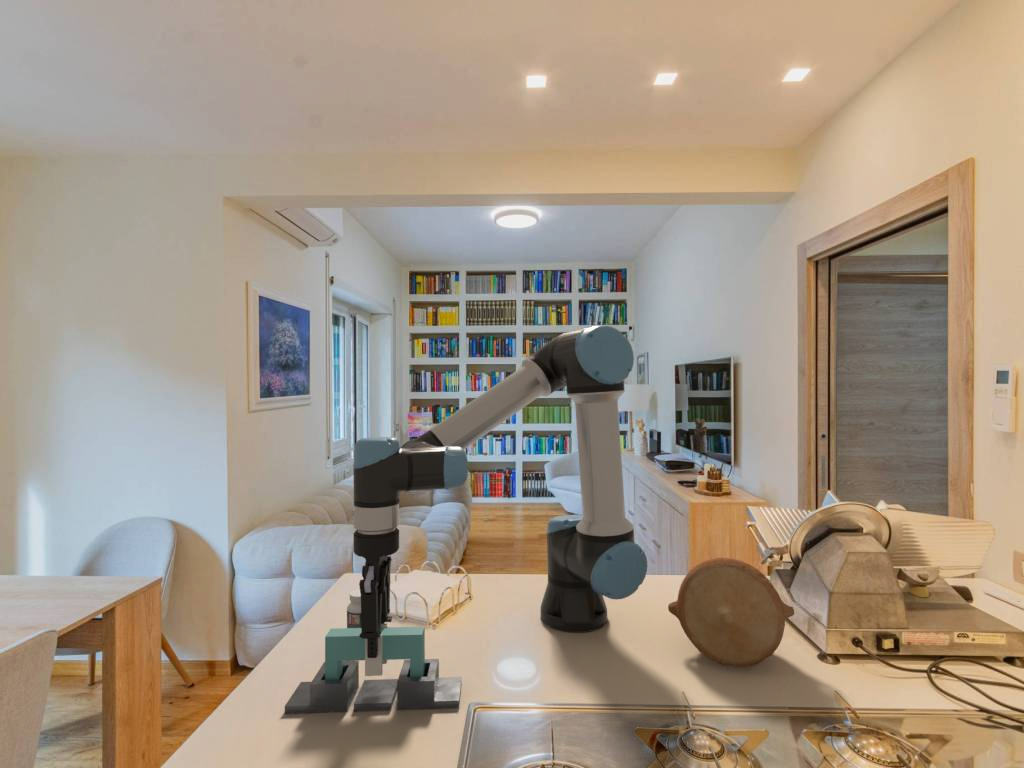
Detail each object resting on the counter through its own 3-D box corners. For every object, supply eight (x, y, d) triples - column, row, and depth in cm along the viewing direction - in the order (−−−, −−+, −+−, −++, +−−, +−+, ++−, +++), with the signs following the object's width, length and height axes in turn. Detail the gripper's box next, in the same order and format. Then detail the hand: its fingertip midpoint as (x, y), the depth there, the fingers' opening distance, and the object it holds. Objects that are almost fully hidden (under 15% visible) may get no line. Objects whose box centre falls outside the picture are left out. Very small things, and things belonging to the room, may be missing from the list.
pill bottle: (367, 648, 104) (367, 598, 104) (341, 645, 105) (341, 596, 105) (380, 635, 109) (379, 588, 110) (355, 632, 111) (355, 586, 111)
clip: (424, 670, 88) (424, 626, 88) (422, 680, 85) (422, 634, 85) (330, 672, 88) (330, 628, 88) (324, 682, 85) (325, 636, 85)
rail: (461, 683, 90) (461, 658, 91) (459, 708, 84) (458, 680, 84) (300, 688, 89) (300, 662, 90) (284, 713, 82) (284, 685, 83)
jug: (652, 603, 95) (659, 570, 124) (720, 702, 90) (711, 644, 118) (743, 544, 92) (729, 524, 120) (820, 643, 86) (786, 597, 115)
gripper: (366, 517, 95) (365, 645, 94) (340, 542, 79) (339, 697, 78) (406, 517, 95) (406, 645, 95) (389, 541, 79) (389, 695, 79)
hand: (376, 668), depth 87 cm, fingers closed on clip, 3 cm apart
